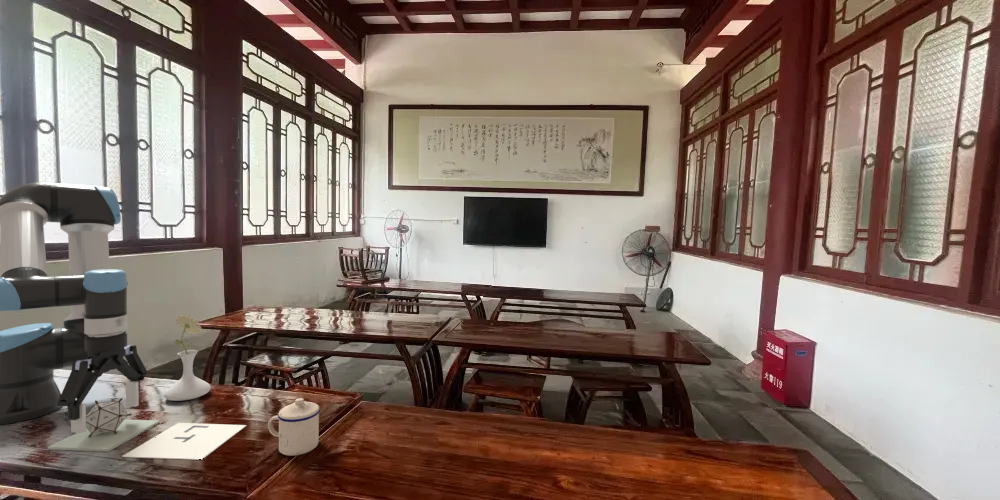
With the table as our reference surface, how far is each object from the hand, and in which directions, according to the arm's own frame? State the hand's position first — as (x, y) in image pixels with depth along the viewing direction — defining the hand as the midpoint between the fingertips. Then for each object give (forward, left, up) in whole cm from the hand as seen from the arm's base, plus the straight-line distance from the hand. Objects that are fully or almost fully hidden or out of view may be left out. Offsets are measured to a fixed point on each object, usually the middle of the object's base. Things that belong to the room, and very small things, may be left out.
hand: (107, 418), depth 100 cm
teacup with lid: (+47, -2, -4) cm, 47 cm away
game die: (0, 0, -4) cm, 4 cm away
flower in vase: (+1, +24, -4) cm, 24 cm away
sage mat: (0, 0, -4) cm, 4 cm away
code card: (+21, -1, -4) cm, 22 cm away
